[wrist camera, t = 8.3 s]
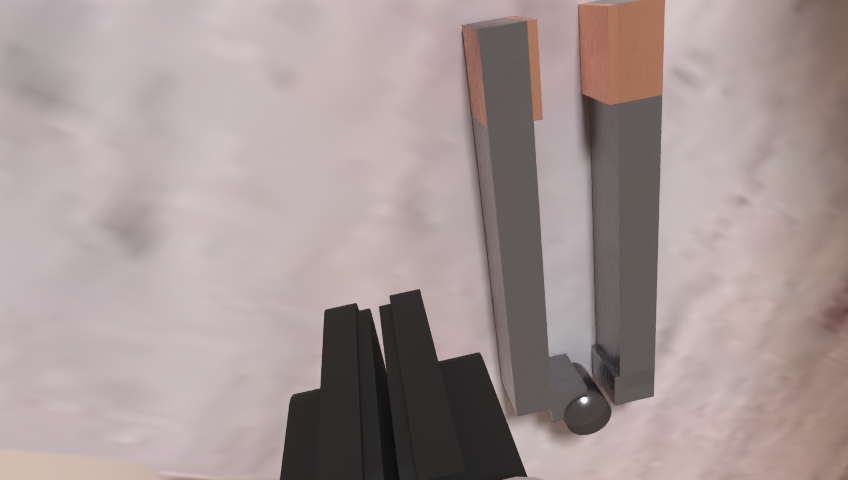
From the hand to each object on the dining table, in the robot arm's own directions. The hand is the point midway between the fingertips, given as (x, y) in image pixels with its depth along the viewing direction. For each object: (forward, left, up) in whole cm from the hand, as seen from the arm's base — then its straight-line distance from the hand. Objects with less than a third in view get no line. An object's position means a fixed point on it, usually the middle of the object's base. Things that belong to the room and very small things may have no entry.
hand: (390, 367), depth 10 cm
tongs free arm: (-8, +7, -18) cm, 21 cm away
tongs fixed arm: (-12, +7, -18) cm, 23 cm away
